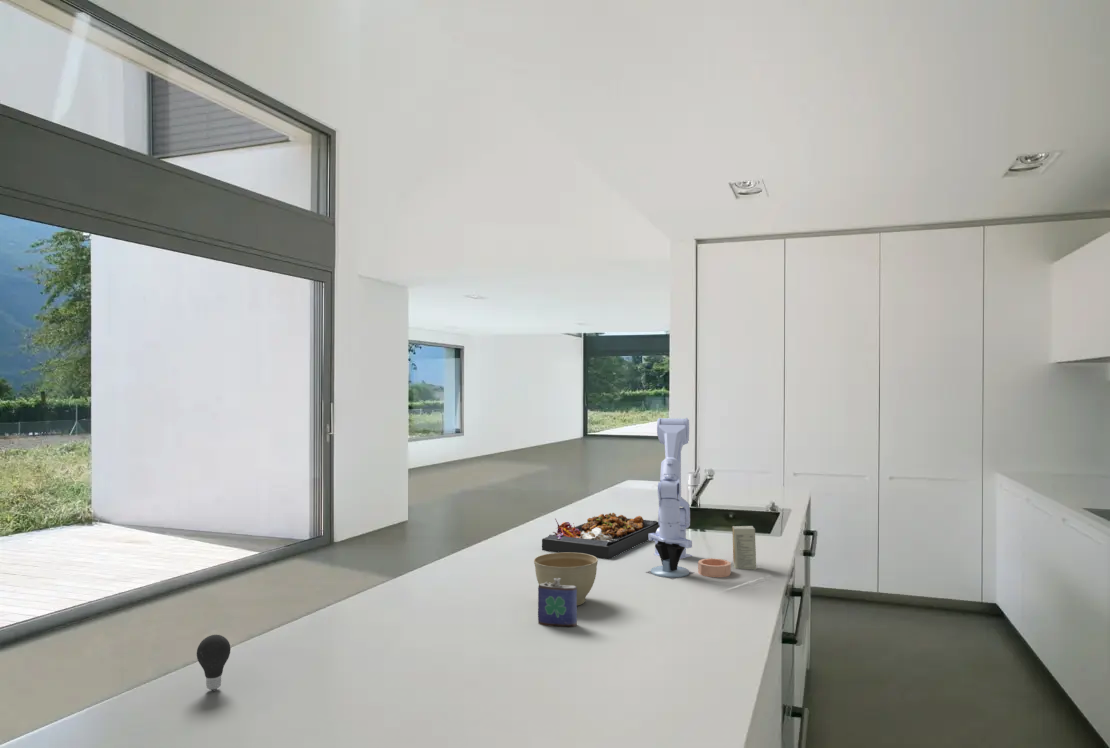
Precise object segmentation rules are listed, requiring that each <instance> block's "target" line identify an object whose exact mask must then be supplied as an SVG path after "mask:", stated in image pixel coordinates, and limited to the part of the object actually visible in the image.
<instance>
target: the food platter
mask: <svg viewBox="0 0 1110 748" xmlns="http://www.w3.org/2000/svg"><path fill="white" fill-rule="evenodd" d="M554 520H555V522H556V524H557V530H556V532H555V531H552V533H553V534H549V535H548V536H546V537H543V538H542V539H541V550H542V551H544V552H552V553H564V552H570V553H584V554H589V555H592V556H595V557H596V558H597V559H604V560H605V559H606V560H610V559H612V557H613V558H615V557H616V555H617V556H618V555H621V554H622V552H623V553H625V552H627V551H629V550H631V549H633V548H632V547H634V546H636V545H638V544H640V543H642V544H644V543H646V542H648V541H650V540H649V538H648V534H650V533H656V531H657V529H658V528H659V527H660V526H659V524H658V520H650V519H649V520H648V519H644V518H643V516H641V515H638V516H635V517H634V518H627V516H625V515H623V514H620V515H618V516H617V514H616V513H615V512H612V513H611V512H609V513H605V514H604V513H602V514H601V513H600V514H599V515H598V516H595V515H594V516H592V517H589V518H587V519H586V520H587V521H586V523H582V524H579V525H576V526H575V525H574V524H575V523H574V522H573V523H572V524H573V526H572V524H571V523H570V522H569V521H564V522H562V523H561V524H559V522H558V521H557V518H554ZM647 540H648V541H647ZM645 541H646V542H645ZM643 542H644V543H643ZM640 545H641V544H640ZM638 546H639V545H638ZM636 547H637V546H636ZM630 548H631V549H630ZM634 548H635V547H634ZM628 549H629V550H628ZM626 550H627V551H626ZM624 551H625V552H624ZM620 553H621V554H620ZM614 556H615V557H614Z"/></svg>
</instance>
